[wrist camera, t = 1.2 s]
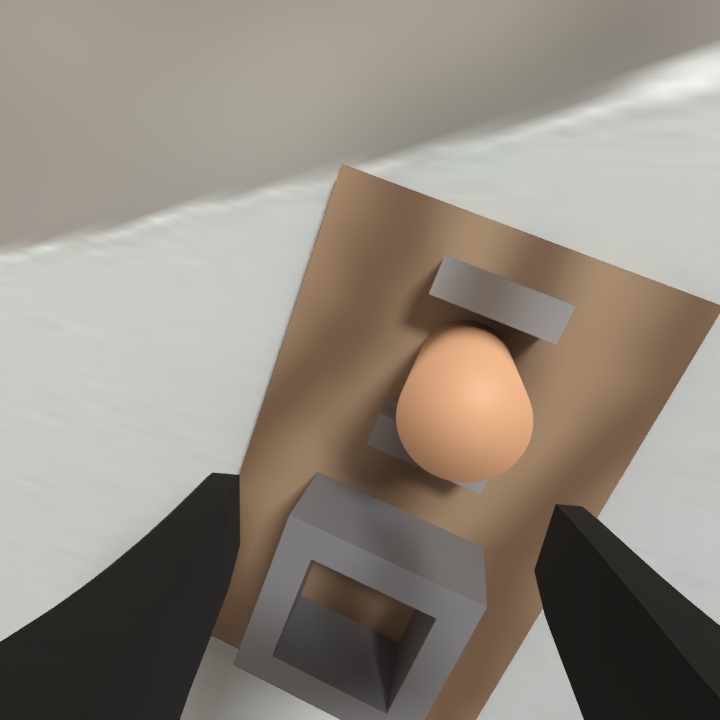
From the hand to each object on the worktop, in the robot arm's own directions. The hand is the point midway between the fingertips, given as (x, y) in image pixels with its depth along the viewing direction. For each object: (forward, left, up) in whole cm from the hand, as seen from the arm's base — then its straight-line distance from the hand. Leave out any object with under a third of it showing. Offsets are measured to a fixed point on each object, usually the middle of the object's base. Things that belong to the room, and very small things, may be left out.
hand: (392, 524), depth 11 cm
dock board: (-1, +5, -12) cm, 13 cm away
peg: (-1, -2, -11) cm, 11 cm away
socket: (-1, +10, -12) cm, 16 cm away
